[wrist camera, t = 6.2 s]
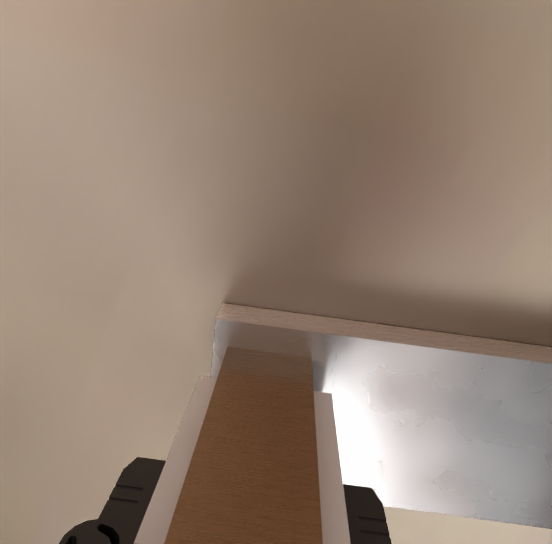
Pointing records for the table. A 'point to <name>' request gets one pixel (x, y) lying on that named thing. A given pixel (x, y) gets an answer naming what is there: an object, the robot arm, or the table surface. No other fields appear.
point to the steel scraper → (364, 426)
